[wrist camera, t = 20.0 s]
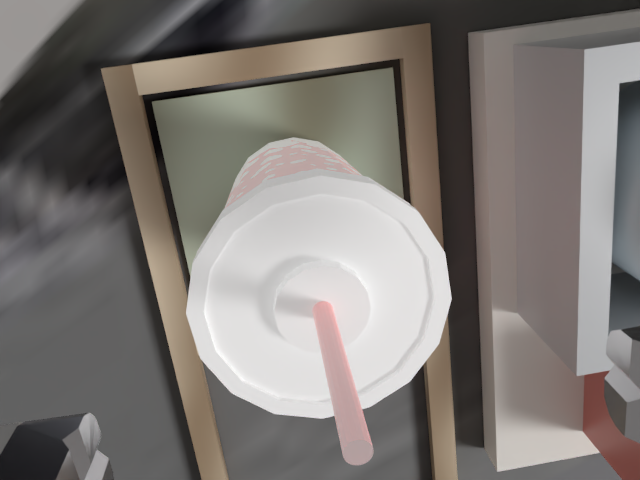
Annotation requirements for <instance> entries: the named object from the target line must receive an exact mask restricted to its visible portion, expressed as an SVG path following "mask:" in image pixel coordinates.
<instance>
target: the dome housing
mask: <svg viewBox="0 0 640 480" xmlns="http://www.w3.org/2000/svg"><path fill="white" fill-rule="evenodd" d="M468 47H469V72H470V97H471V122H472V147H473V172H474V198H475V223H476V248H477V273H478V298H479V324H480V349H481V374H482V399H483V424H484V449H485V451H486V452H487V454H488V456H489V458H490V460H491V461H492V463H493V465H494V467H495V469H496V470H497V472H499V471H504V470H510V469H515V468H520V467H526V466H531V465H536V464H542V463H547V462H552V461H558V460H563V459H569V458H574V457H579V456H585V455H590V454H595V453H601V454H602V455H603V457H604V458H605V459H606V460H607V462H608V463H609V464H610V465H611V466H612V468H613V469H614V470H615V471H616V472H617V474H618V475H619V476H620V477H621V478H622V480H640V443H637V442H635V441H633V440H631V439H629V438H626V437H624V435H623V434H622V433H621V432H620V431H619V429H618V428H617V427H616V426H615V424H614V422H613V420H612V419H611V417H610V415H609V413H608V409H607V405H606V402H605V398H604V378H605V377H606V375H607V374H608V373H609V371H610V370H611V369H612V367H613V366H614V364H613V362H612V361H611V360H610V359H609V358H608V356H607V355H606V344H607V339H608V336H609V334H610V332H611V331H613V330H619V329H625V328H630V327H636V326H640V281H639V280H637V279H636V278H634V277H633V276H631V275H630V274H628V273H627V272H625V271H624V270H622V269H621V268H619V267H617V266H616V265H614V264H613V263H611V262H612V239H613V217H614V194H615V171H616V149H617V126H618V104H619V91H621V90H622V89H624V88H625V87H627V86H629V85H630V84H632V83H634V82H636V81H638V80H640V9H633V10H626V11H619V12H612V13H605V14H597V15H590V16H583V17H576V18H569V19H562V20H555V21H547V22H540V23H533V24H526V25H519V26H512V27H504V28H497V29H490V30H483V31H476V32H469V33H468Z"/></svg>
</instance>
